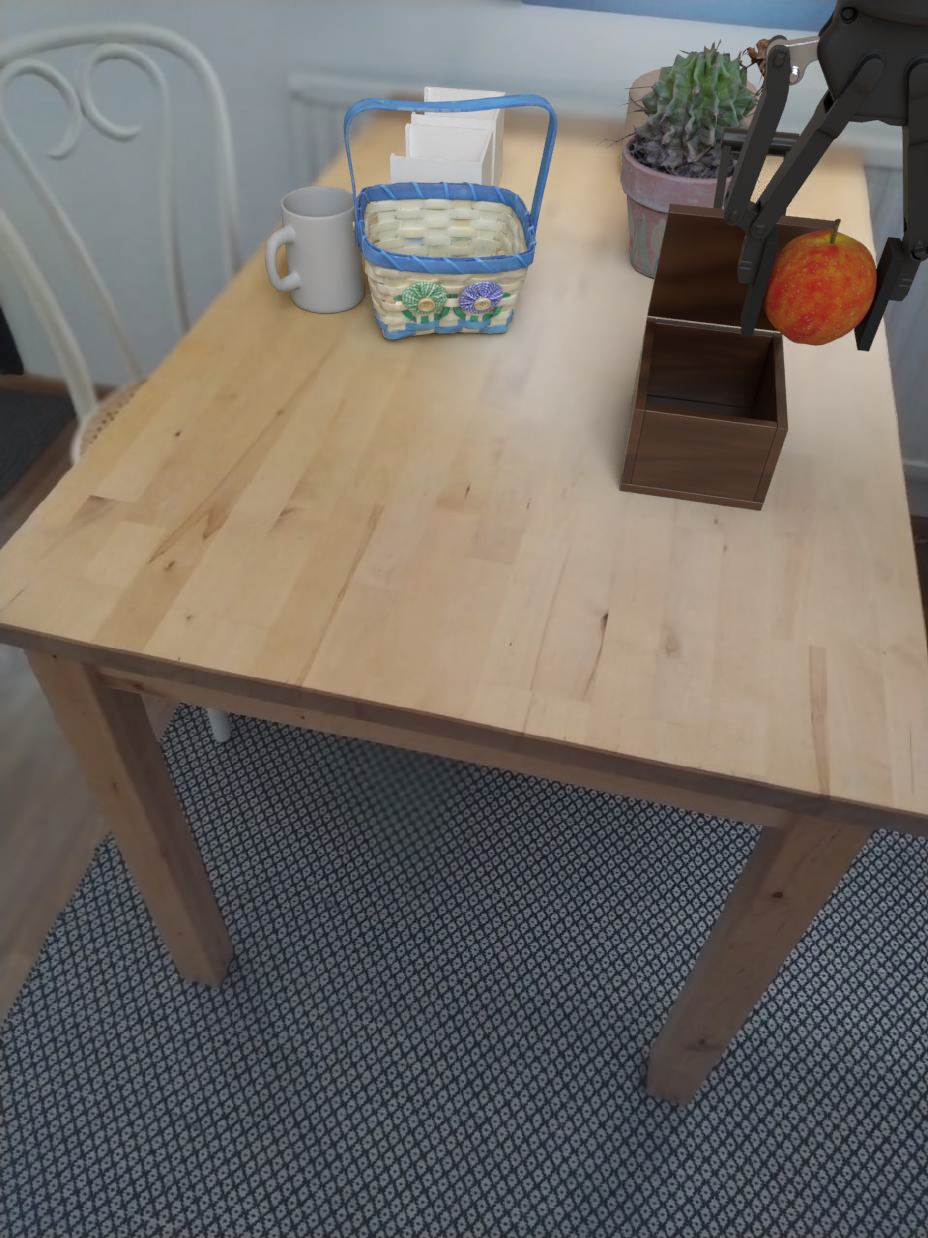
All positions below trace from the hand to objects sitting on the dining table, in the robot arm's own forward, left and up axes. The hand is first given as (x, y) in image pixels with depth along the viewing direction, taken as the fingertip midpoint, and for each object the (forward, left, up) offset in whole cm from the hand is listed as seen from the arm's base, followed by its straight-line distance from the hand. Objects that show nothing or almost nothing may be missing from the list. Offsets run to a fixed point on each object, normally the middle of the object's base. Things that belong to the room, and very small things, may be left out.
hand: (803, 332), depth 63 cm
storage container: (+38, -62, -22) cm, 76 cm away
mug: (+48, -34, -22) cm, 63 cm away
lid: (+4, -18, -6) cm, 19 cm away
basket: (+32, -33, -22) cm, 51 cm away
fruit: (0, 0, 0) cm, 0 cm away
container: (+8, -82, -22) cm, 85 cm away
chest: (+4, -15, -22) cm, 27 cm away
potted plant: (+9, -53, -22) cm, 58 cm away
